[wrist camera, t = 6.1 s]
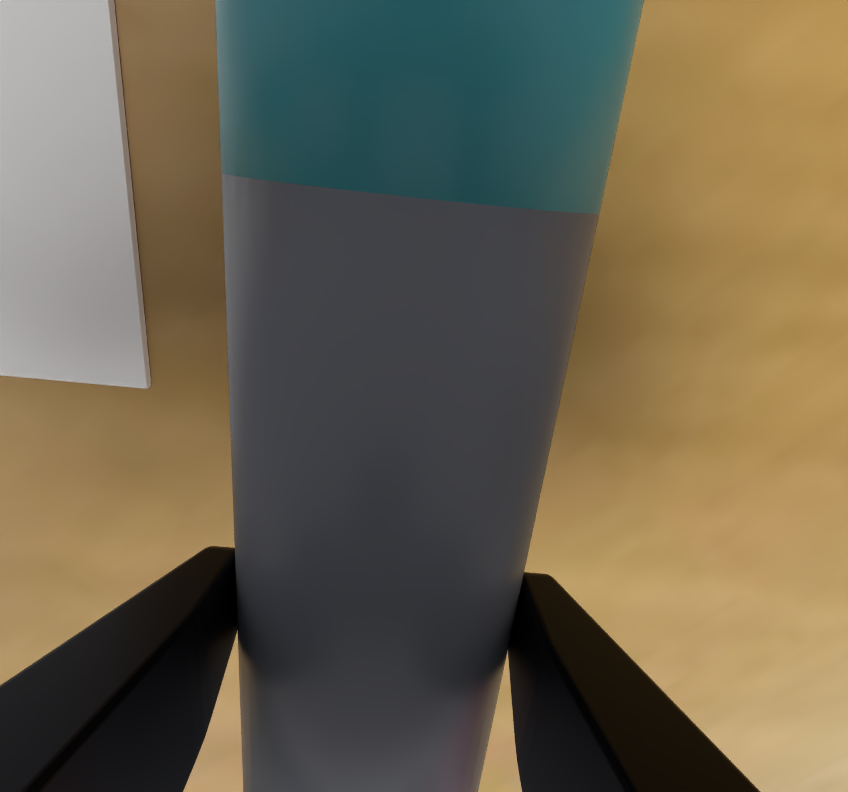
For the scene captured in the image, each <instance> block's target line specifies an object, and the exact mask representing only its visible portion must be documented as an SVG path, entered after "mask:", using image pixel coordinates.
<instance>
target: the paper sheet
mask: <svg viewBox="0 0 848 792" xmlns="http://www.w3.org/2000/svg"><path fill="white" fill-rule="evenodd" d="M0 375H3V376H14V377H24V378H35V379H46V380H57V381H68V382H79V383H90V384H101V385H111V386H122V387H133V388H144V389H147V388H149V387H150V386H151V377H150V366H149V356H148V346H147V335H146V325H145V315H144V304H143V294H142V283H141V273H140V263H139V252H138V242H137V232H136V221H135V211H134V201H133V190H132V180H131V169H130V159H129V149H128V138H127V128H126V118H125V107H124V97H123V87H122V76H121V66H120V55H119V45H118V35H117V24H116V14H115V4H114V0H0Z"/></svg>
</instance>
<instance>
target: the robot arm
mask: <svg viewBox="0 0 848 792" xmlns="http://www.w3.org/2000/svg"><path fill="white" fill-rule="evenodd" d="M237 630H238V624H237V596H236V568H235V548H230V547H219V546H210V547H207V548H205V549H203V550H202V551H200V552H199V553H197V554H196V555H194V556H193V557H191V558H190V559H188V560H187V561H186V562H184V563H183V564H181V565H180V566H178V567H177V568H175V569H174V570H172V571H171V572H169V573H168V574H166V575H165V576H163V577H162V578H160V579H159V580H157V581H156V582H154V583H153V584H151V585H150V586H148V587H147V588H145V589H144V590H142V591H141V592H139V593H138V594H136V595H135V596H133V597H132V598H130V599H129V600H127V601H126V602H124V603H123V604H121V605H120V606H118V607H117V608H115V609H114V610H112V611H111V612H109V613H108V614H106V615H105V616H103V617H102V618H100V619H99V620H97V621H96V622H94V623H93V624H91V625H90V626H88V627H87V628H85V629H84V630H82V631H81V632H79V633H78V634H76V635H75V636H73V637H72V638H70V639H69V640H67V641H66V642H64V643H63V644H61V645H60V646H58V647H57V648H55V649H54V650H52V651H51V652H49V653H48V654H46V655H45V656H43V657H42V658H41V659H39V660H38V661H36V662H35V663H33V664H32V665H30V666H29V667H27V668H26V669H24V670H23V671H21V672H20V673H18V674H17V675H15V676H14V677H12V678H11V679H9V680H8V681H6V682H5V683H3V684H2V685H0V792H183V790H184V788H185V785H186V783H187V781H188V778H189V776H190V773H191V771H192V769H193V766H194V764H195V761H196V759H197V756H198V754H199V751H200V749H201V746H202V743H203V741H204V738H205V735H206V732H207V729H208V726H209V723H210V720H211V717H212V713H213V710H214V707H215V703H216V700H217V697H218V693H219V690H220V687H221V683H222V680H223V677H224V673H225V670H226V667H227V663H228V660H229V657H230V653H231V650H232V647H233V643H234V640H235V637H236V633H237ZM508 657H509V670H510V683H511V695H512V708H513V721H514V734H515V744H516V754H517V762H518V769H519V775H520V781H521V787H522V792H760V791H759V790H758V789H757V788H756V787H755V786H754V785H753V784H752V783H751V782H750V780H749V779H748V778H747V777H746V776H745V775H744V774H743V773H742V772H741V771H740V770H739V769H738V768H737V767H736V766H735V765H734V764H733V763H732V762H731V761H730V760H729V759H728V758H727V757H726V756H725V755H724V754H723V753H722V752H721V751H720V750H719V748H718V747H717V746H716V745H715V744H714V743H713V742H712V741H711V740H710V739H709V738H708V737H707V736H706V735H705V734H704V733H703V732H702V731H701V730H700V729H699V728H698V727H697V726H696V725H695V724H694V723H693V722H692V721H691V720H690V719H689V718H688V716H687V715H686V714H685V713H684V712H683V711H682V710H681V709H680V708H679V707H678V706H677V705H676V704H675V703H674V702H673V701H672V700H671V699H670V698H669V697H668V696H667V695H666V694H665V693H664V692H663V691H662V690H661V689H660V688H659V687H658V686H657V684H656V683H655V682H654V681H653V680H652V679H651V678H650V677H649V676H648V675H647V674H646V673H645V672H644V671H643V670H642V669H641V668H640V667H639V666H638V665H637V664H636V663H635V662H634V661H633V660H632V659H631V658H630V657H629V656H628V655H627V653H626V652H625V651H624V650H623V649H622V648H621V647H620V646H619V645H618V644H617V643H616V642H615V641H614V640H613V639H612V638H611V637H610V636H609V635H608V634H607V633H606V632H605V631H604V630H603V629H602V628H601V627H600V626H599V625H598V624H597V623H596V621H595V620H594V619H593V618H592V617H591V616H590V615H589V614H588V613H587V612H586V611H585V610H584V609H583V608H582V607H581V606H580V605H579V604H578V603H577V602H576V601H575V600H574V599H573V598H572V597H571V596H570V595H569V594H568V593H567V592H566V591H565V589H564V588H563V587H562V586H561V585H560V584H559V583H558V582H557V581H556V580H555V579H554V578H553V577H551V576H550V575H548V574H540V573H528V572H524V574H523V579H522V584H521V589H520V593H519V598H518V603H517V608H516V612H515V617H514V622H513V627H512V631H511V636H510V641H509V646H508Z"/></svg>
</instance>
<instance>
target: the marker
mask: <svg viewBox="0 0 848 792" xmlns="http://www.w3.org/2000/svg"><path fill="white" fill-rule="evenodd" d="M643 3H644V0H215V8H216V36H217V64H218V92H219V120H220V148H221V176H222V204H223V232H224V260H225V288H226V316H227V344H228V372H229V400H230V428H231V456H232V484H233V512H234V540H235V568H236V596H237V624H238V652H239V680H240V708H241V736H242V764H243V792H478V789H479V784H480V779H481V774H482V770H483V765H484V760H485V755H486V751H487V746H488V741H489V736H490V731H491V727H492V722H493V717H494V712H495V708H496V703H497V698H498V693H499V689H500V684H501V679H502V674H503V670H504V665H505V660H506V655H507V651H508V646H509V641H510V636H511V631H512V627H513V622H514V617H515V612H516V608H517V603H518V598H519V593H520V589H521V584H522V579H523V574H524V570H525V565H526V560H527V555H528V550H529V546H530V541H531V536H532V531H533V527H534V522H535V517H536V512H537V508H538V503H539V498H540V493H541V489H542V484H543V479H544V474H545V470H546V465H547V460H548V455H549V450H550V446H551V441H552V436H553V431H554V427H555V422H556V417H557V412H558V408H559V403H560V398H561V393H562V389H563V384H564V379H565V374H566V370H567V365H568V360H569V355H570V350H571V346H572V341H573V336H574V331H575V327H576V322H577V317H578V312H579V308H580V303H581V298H582V293H583V289H584V284H585V279H586V274H587V270H588V265H589V260H590V255H591V250H592V246H593V241H594V236H595V231H596V227H597V222H598V217H599V212H600V208H601V203H602V198H603V193H604V189H605V184H606V179H607V174H608V169H609V165H610V160H611V155H612V150H613V146H614V141H615V136H616V131H617V127H618V122H619V117H620V112H621V108H622V103H623V98H624V93H625V89H626V84H627V79H628V74H629V69H630V65H631V60H632V55H633V50H634V46H635V41H636V36H637V31H638V27H639V22H640V17H641V12H642V8H643Z"/></svg>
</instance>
